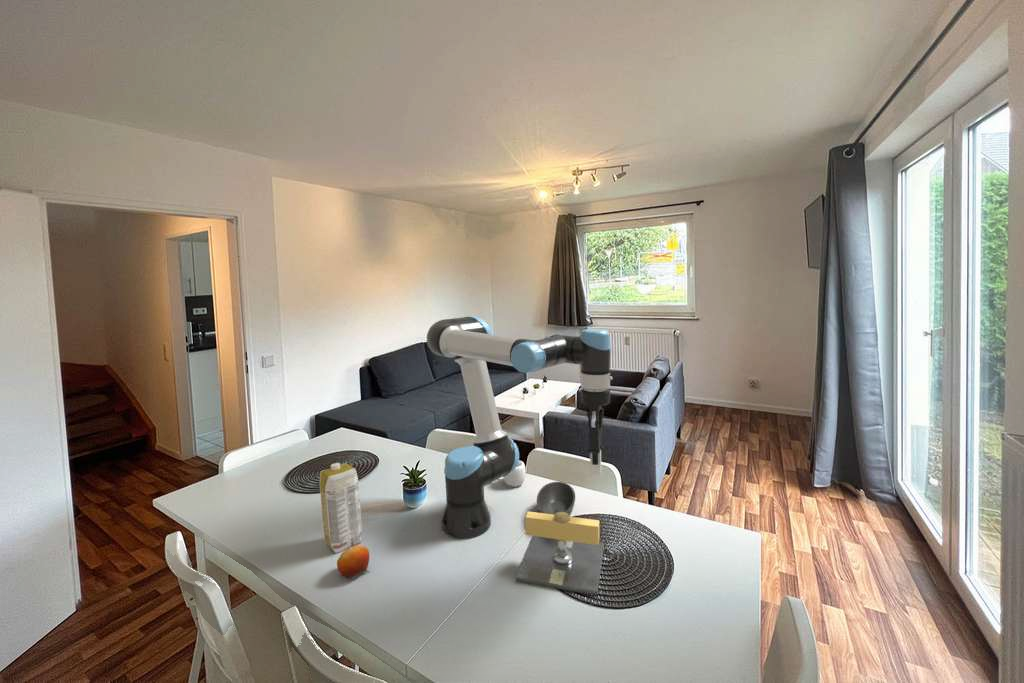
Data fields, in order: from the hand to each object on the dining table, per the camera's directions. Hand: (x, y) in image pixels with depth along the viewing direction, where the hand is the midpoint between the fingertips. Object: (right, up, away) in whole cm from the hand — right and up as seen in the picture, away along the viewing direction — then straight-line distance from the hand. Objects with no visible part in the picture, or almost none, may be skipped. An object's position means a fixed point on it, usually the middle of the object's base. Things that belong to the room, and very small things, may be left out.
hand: (595, 473), depth 116 cm
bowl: (-8, -20, +22) cm, 31 cm away
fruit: (-64, -25, -3) cm, 69 cm away
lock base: (-9, -23, -2) cm, 25 cm away
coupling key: (-9, -16, -3) cm, 19 cm away
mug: (-23, -18, +45) cm, 54 cm away
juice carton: (-72, -24, +9) cm, 76 cm away
